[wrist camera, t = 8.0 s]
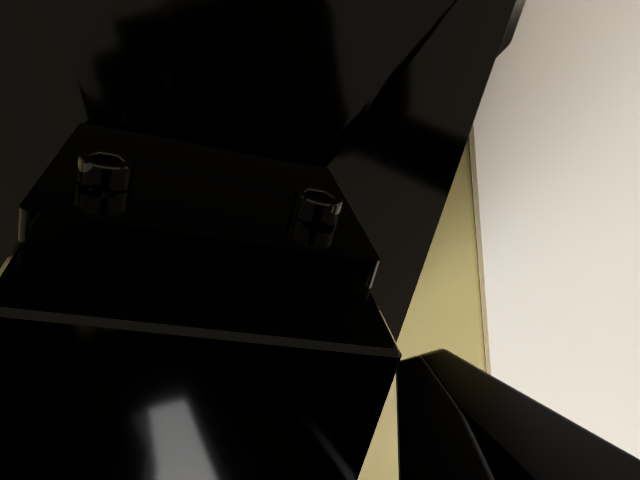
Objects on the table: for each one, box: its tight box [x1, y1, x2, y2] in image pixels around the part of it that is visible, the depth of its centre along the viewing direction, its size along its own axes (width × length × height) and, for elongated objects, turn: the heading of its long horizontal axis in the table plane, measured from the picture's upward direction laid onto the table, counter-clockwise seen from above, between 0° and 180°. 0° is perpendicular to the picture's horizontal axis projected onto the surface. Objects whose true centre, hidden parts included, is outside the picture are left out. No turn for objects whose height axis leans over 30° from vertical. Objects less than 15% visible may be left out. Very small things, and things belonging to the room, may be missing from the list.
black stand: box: [0, 0, 526, 480], centre depth 7 cm, size 12×7×5 cm, turn 166°
